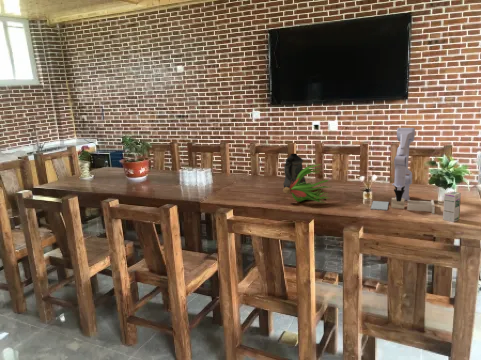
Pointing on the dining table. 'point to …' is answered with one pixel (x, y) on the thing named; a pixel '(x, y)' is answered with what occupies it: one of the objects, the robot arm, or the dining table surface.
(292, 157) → the dark grey backpack
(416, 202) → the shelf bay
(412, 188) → the dining table surface
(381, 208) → the slate board
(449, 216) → the syrup box
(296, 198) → the decorative plant
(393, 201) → the birch block
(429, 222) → the dining table surface
